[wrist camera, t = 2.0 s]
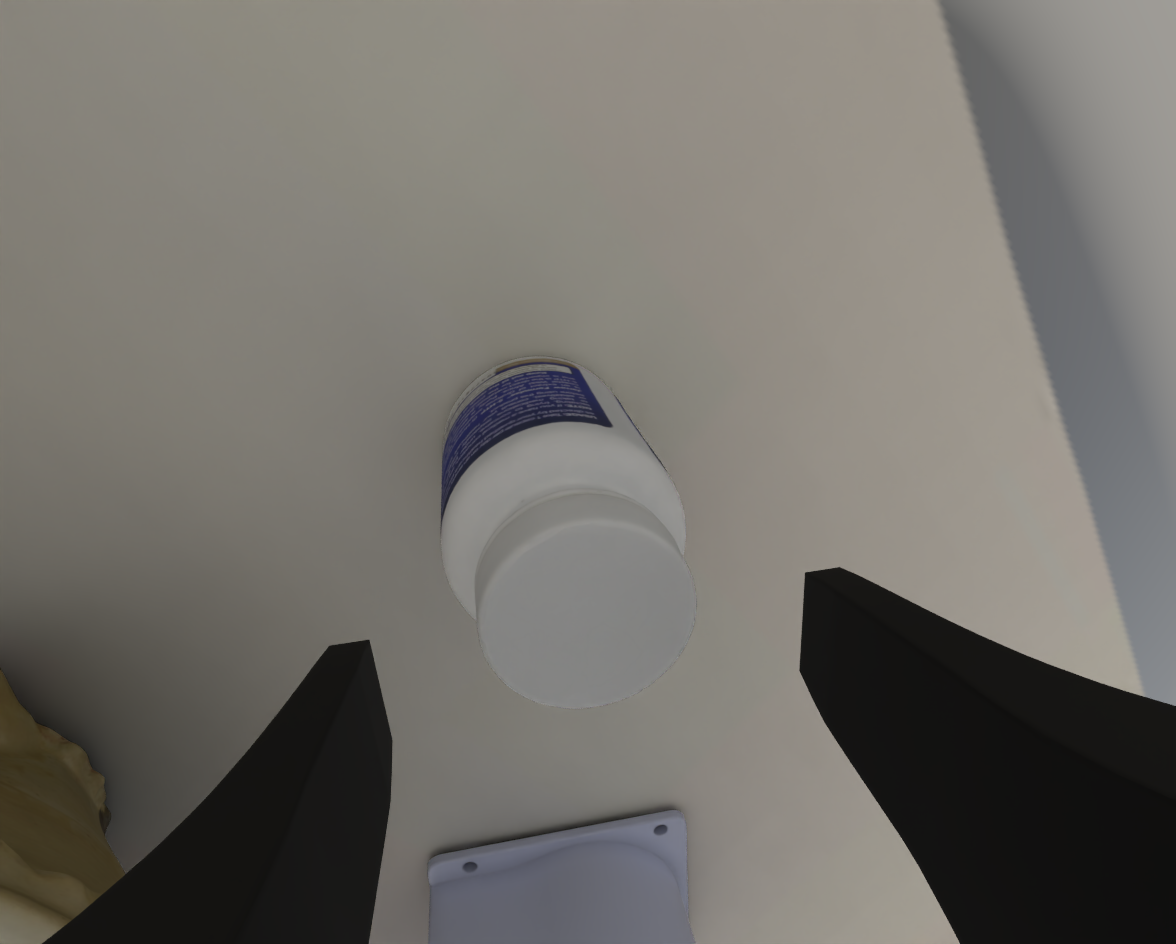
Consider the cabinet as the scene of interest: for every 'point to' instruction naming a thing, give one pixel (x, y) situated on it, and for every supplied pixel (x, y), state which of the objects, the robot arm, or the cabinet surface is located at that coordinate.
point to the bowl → (47, 828)
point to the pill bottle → (563, 536)
